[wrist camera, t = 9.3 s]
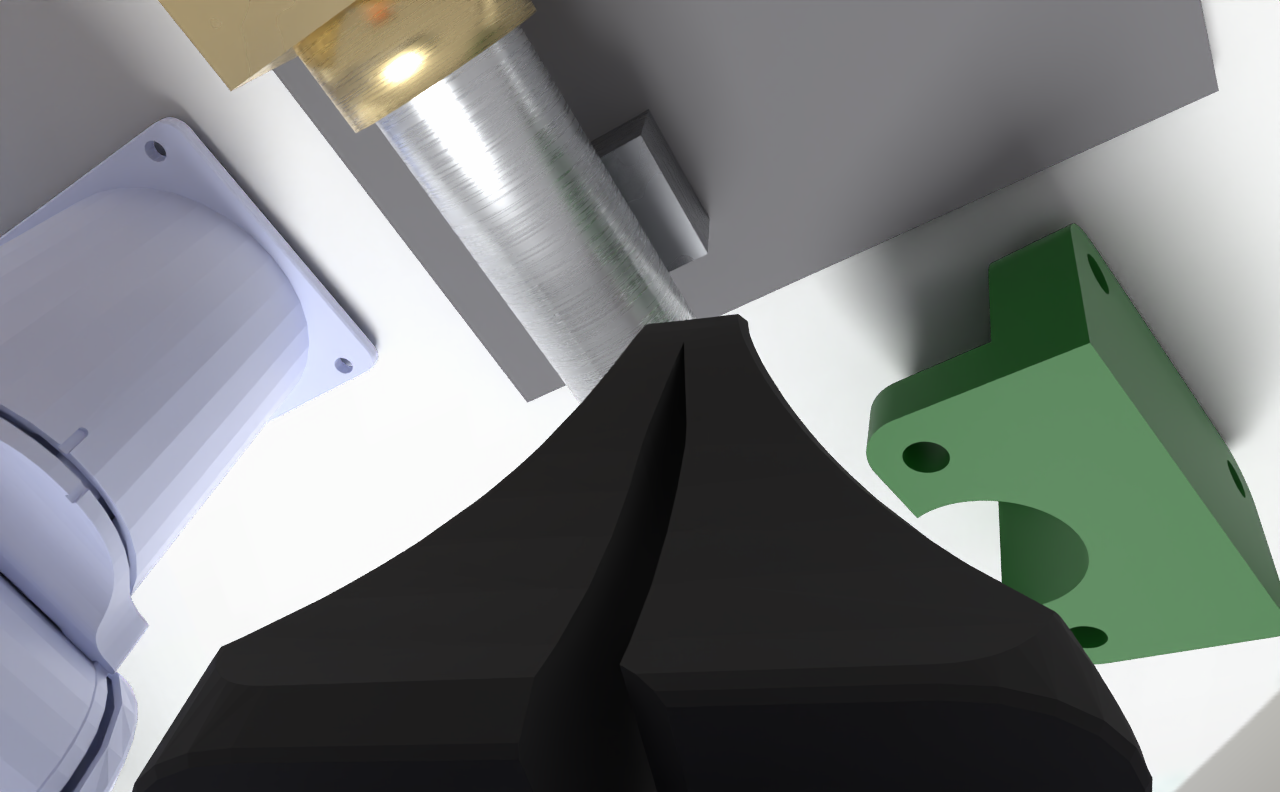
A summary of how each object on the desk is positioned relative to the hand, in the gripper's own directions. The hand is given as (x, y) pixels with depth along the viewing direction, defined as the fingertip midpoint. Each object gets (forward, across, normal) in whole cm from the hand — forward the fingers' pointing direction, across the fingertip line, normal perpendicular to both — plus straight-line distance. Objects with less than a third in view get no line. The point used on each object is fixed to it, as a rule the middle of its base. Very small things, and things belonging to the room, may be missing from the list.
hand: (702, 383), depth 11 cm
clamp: (+11, -8, +9) cm, 16 cm away
